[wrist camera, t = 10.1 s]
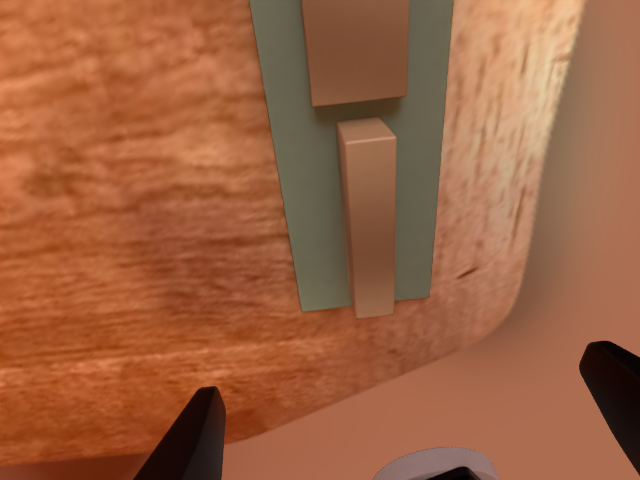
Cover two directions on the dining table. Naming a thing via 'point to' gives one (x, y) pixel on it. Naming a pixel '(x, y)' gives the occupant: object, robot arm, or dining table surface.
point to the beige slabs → (362, 130)
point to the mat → (322, 150)
